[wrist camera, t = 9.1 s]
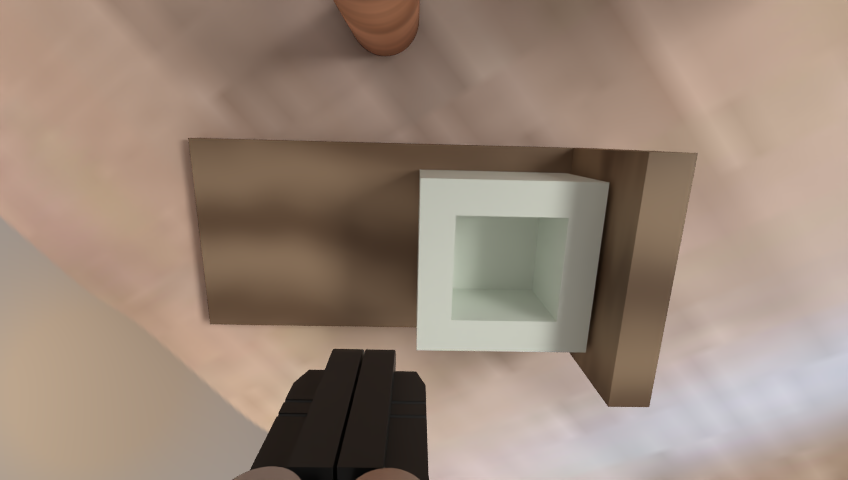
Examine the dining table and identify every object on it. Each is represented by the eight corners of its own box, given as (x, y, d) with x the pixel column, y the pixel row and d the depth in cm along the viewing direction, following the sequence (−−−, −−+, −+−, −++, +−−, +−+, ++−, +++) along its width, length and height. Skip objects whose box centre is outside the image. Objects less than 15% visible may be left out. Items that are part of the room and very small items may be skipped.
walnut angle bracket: (197, 138, 24) (73, 137, 16) (598, 148, 25) (697, 153, 16) (217, 317, 27) (123, 401, 18) (576, 323, 28) (648, 406, 19)
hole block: (419, 169, 24) (420, 178, 19) (566, 173, 24) (609, 182, 19) (416, 307, 26) (416, 350, 21) (551, 309, 26) (585, 352, 21)
